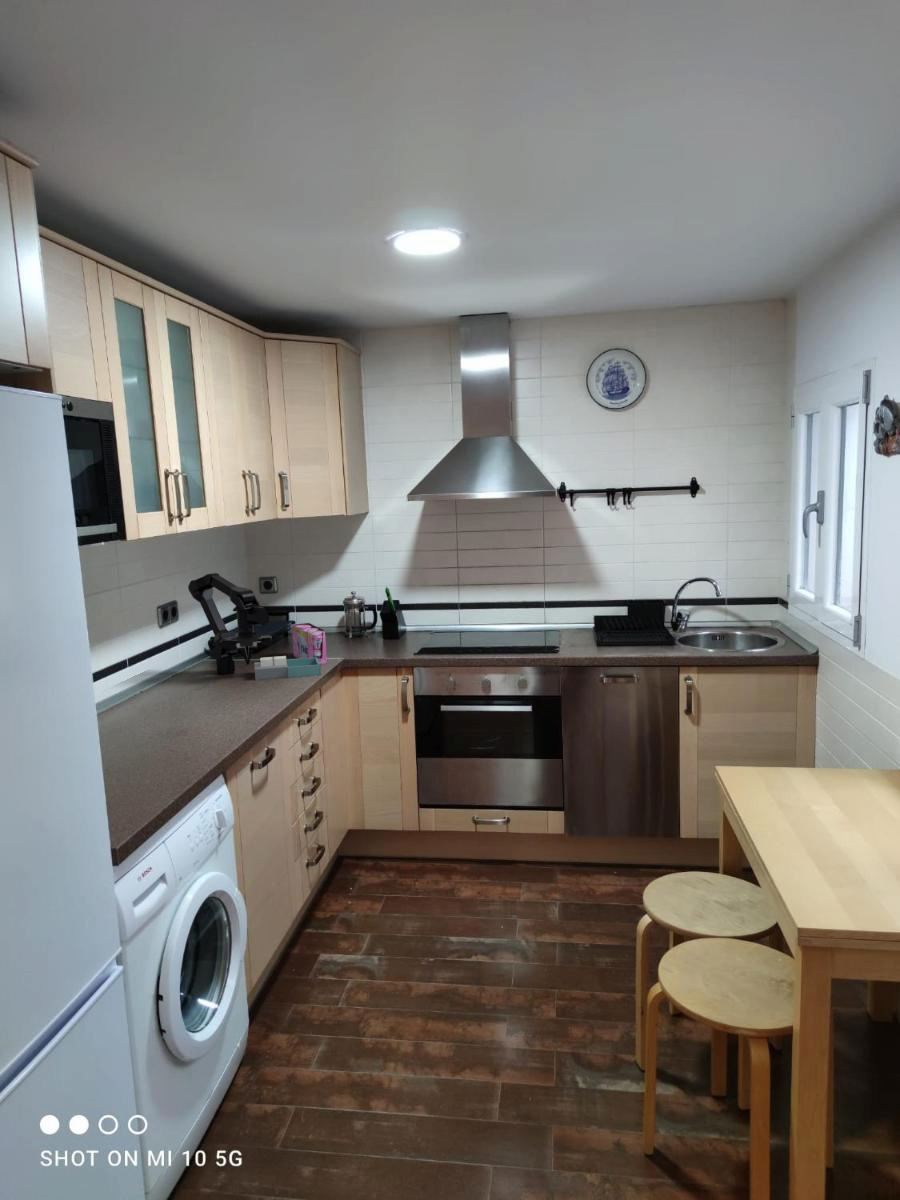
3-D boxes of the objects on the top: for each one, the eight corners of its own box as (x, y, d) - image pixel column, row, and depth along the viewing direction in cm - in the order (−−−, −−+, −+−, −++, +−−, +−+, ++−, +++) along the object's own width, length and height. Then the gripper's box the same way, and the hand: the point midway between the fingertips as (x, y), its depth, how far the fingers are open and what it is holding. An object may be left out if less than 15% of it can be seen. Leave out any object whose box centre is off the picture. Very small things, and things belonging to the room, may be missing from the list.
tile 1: (260, 666, 293) (260, 660, 293) (260, 664, 298) (260, 657, 297) (273, 665, 294) (272, 659, 294) (272, 663, 299) (272, 656, 298)
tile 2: (274, 665, 295) (274, 659, 294) (274, 663, 299) (273, 656, 299) (286, 664, 296) (286, 658, 295) (285, 662, 300) (285, 655, 300)
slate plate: (255, 679, 290) (254, 669, 289) (254, 672, 301) (254, 662, 301) (288, 677, 293) (287, 666, 292) (286, 670, 304) (286, 660, 304)
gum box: (328, 664, 313) (327, 631, 311) (309, 666, 310) (307, 633, 308) (311, 653, 334) (309, 622, 332) (292, 655, 331) (291, 624, 329)
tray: (288, 677, 292) (287, 667, 291) (286, 669, 305) (285, 659, 305) (320, 675, 295) (320, 664, 294) (317, 667, 308) (317, 657, 308)
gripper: (218, 628, 282) (221, 671, 284) (271, 625, 287) (273, 667, 289) (219, 623, 293) (222, 664, 295) (270, 620, 297) (272, 660, 299)
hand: (247, 664), depth 294 cm, fingers closed
